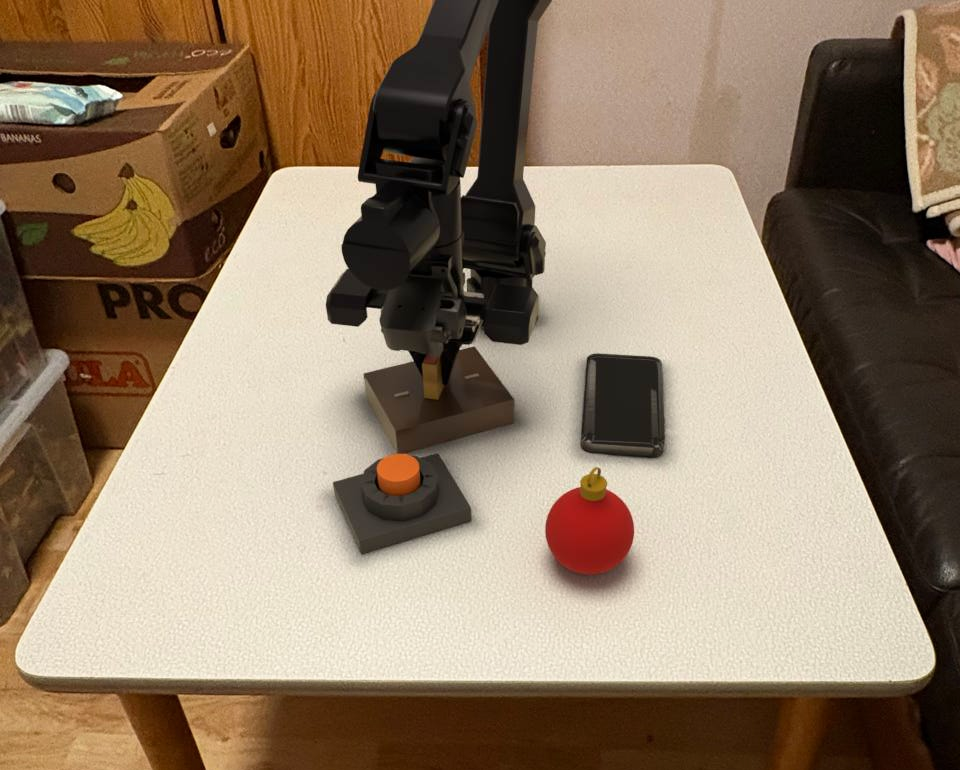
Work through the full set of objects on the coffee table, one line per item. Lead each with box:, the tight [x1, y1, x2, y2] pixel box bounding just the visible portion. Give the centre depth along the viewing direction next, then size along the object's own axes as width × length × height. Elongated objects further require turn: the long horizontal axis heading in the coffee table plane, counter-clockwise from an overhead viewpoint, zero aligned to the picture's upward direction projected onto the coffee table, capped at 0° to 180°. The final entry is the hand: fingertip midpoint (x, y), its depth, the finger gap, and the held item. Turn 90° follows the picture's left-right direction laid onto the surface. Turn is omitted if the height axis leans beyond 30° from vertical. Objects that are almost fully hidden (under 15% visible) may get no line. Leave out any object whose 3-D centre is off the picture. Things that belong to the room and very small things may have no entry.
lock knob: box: [422, 343, 444, 400], centre depth 87 cm, size 4×1×4 cm, turn 167°
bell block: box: [332, 452, 472, 556], centre depth 79 cm, size 10×8×4 cm
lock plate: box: [363, 346, 515, 454], centre depth 90 cm, size 12×10×3 cm
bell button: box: [377, 453, 420, 496], centre depth 78 cm, size 4×4×2 cm
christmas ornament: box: [544, 466, 635, 575], centre depth 72 cm, size 7×7×10 cm
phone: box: [580, 352, 666, 458], centre depth 90 cm, size 8×1×15 cm
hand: (437, 381), depth 88 cm, fingers closed on lock knob
